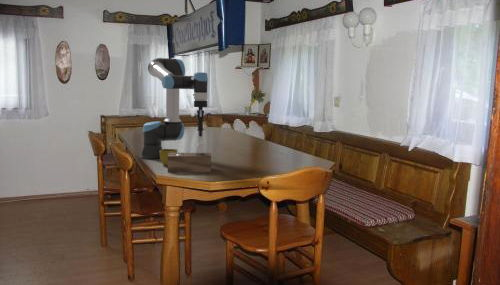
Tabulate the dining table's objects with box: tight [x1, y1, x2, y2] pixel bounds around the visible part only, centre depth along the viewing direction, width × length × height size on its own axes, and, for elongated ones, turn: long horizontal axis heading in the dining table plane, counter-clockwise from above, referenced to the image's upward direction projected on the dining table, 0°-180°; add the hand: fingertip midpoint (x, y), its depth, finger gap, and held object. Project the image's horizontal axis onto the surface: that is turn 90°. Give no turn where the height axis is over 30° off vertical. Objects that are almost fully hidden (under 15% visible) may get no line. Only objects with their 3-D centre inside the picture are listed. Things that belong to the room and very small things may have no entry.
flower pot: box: [159, 148, 178, 166], centre depth 252 cm, size 9×9×9 cm
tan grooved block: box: [167, 152, 212, 173], centre depth 238 cm, size 12×24×9 cm, turn 97°
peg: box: [196, 143, 205, 155], centre depth 238 cm, size 4×4×9 cm
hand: (200, 141), depth 237 cm, fingers closed
